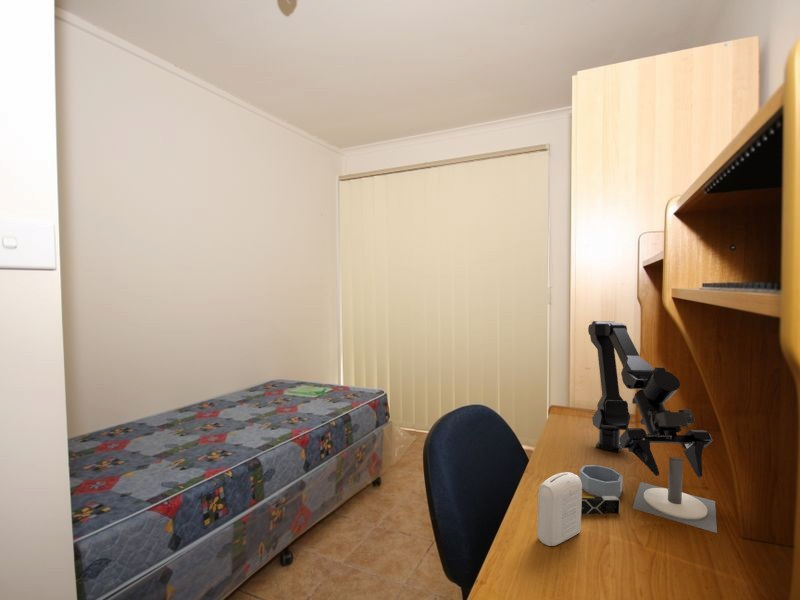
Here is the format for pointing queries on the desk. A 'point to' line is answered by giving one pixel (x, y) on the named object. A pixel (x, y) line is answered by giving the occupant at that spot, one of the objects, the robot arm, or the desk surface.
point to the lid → (675, 496)
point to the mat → (704, 523)
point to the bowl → (601, 480)
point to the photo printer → (559, 508)
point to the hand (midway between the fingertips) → (679, 476)
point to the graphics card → (600, 505)
